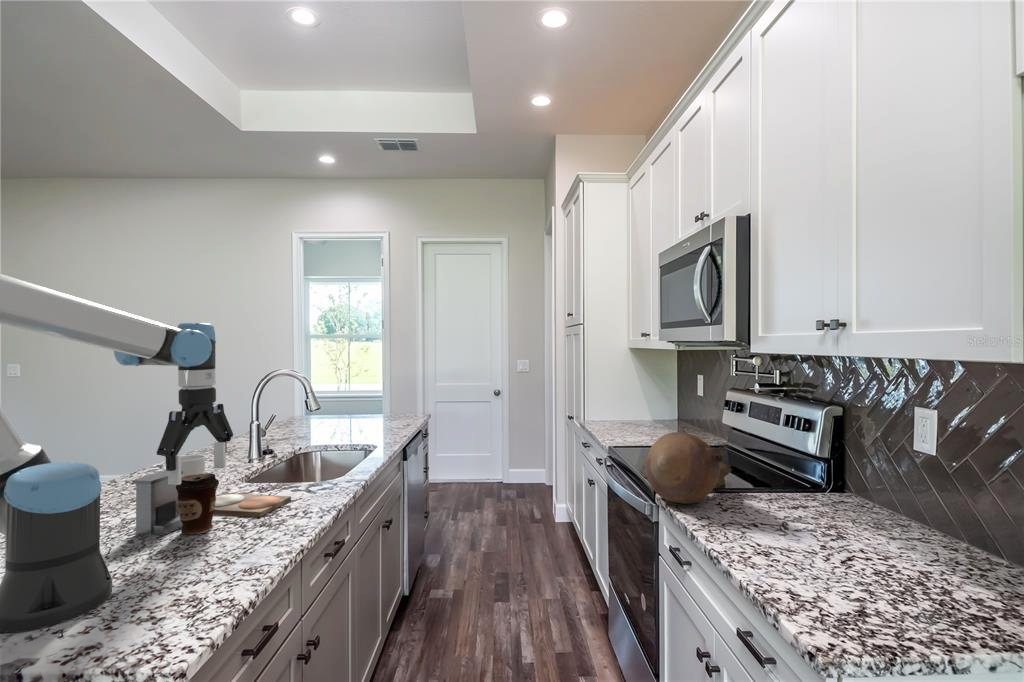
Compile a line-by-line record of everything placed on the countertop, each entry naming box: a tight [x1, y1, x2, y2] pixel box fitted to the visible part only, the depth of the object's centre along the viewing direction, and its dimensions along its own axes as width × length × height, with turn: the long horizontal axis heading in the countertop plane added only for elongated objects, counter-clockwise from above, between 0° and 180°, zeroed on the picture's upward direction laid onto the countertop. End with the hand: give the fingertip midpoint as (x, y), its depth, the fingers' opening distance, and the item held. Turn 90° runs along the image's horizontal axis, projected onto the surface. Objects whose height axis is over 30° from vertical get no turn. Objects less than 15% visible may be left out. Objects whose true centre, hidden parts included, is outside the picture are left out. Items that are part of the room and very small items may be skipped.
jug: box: [642, 431, 732, 505], centre depth 138 cm, size 20×20×30 cm
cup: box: [181, 454, 207, 478], centre depth 137 cm, size 8×8×12 cm
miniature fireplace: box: [132, 469, 183, 536], centre depth 116 cm, size 9×8×13 cm
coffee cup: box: [176, 472, 220, 535], centre depth 114 cm, size 9×8×13 cm
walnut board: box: [213, 492, 292, 518], centre depth 131 cm, size 13×21×2 cm, turn 81°
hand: (198, 475), depth 115 cm, fingers open, 13 cm apart
